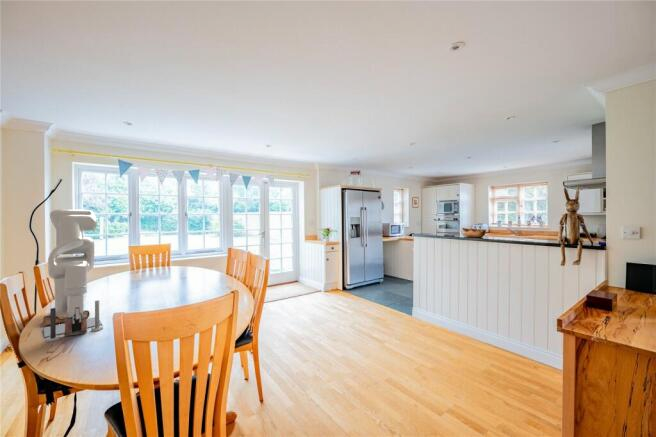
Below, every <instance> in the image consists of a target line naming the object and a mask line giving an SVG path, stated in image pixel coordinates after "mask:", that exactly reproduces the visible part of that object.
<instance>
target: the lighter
mask: <svg viewBox="0 0 656 437" xmlns="http://www.w3.org/2000/svg"><path fill="white" fill-rule="evenodd" d="M85 311H86V310H83V314H85ZM74 316H75V315H74ZM74 319H75V318H74ZM87 319H88V318H87V315H84V316H81V331H77V332H72V323H73V318H72V317H71V318H69V317H67V318H65V319H64V321H65V333H64V334H63V335H64V336H73V335H80V334H81V335H82V334H85V333H87V332H88V328H87Z"/></svg>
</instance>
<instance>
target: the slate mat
mask: <svg viewBox="0 0 656 437" xmlns="http://www.w3.org/2000/svg"><path fill="white" fill-rule="evenodd" d="M99 326H103V323H102V322H101V320H100V319H99ZM93 327H95V316H94V317H90V318H89V317H88V318H87V329H91V328H93ZM64 333H65V323H64V324H60V325H56V336H61V335H64ZM60 334H61V335H60ZM43 335H44V336H43V337H44V339H47V338H48V337H50V326H48V327H43Z"/></svg>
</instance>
